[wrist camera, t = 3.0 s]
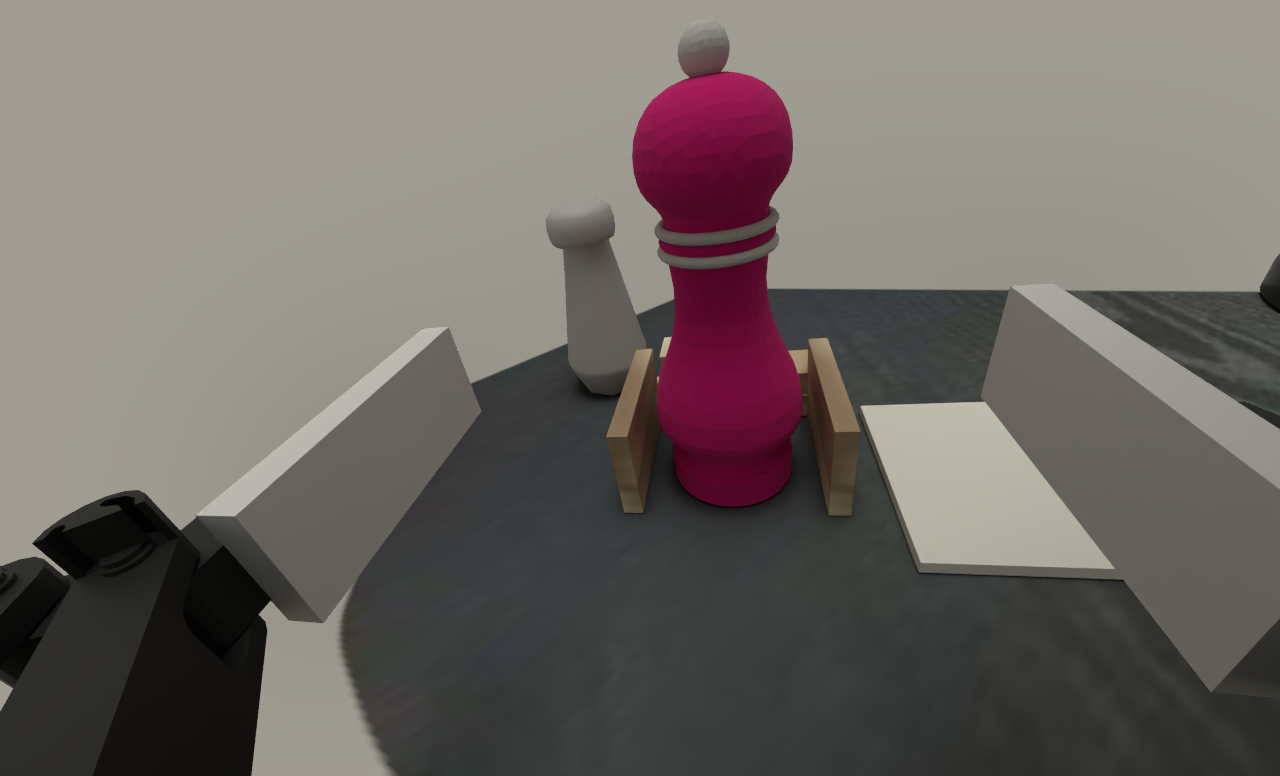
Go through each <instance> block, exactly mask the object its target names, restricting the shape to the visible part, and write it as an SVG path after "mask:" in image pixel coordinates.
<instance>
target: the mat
mask: <svg viewBox="0 0 1280 776" xmlns="http://www.w3.org/2000/svg"><path fill="white" fill-rule="evenodd" d="M860 417H861V419H862V422H863V425H864V427H865V430H866V433H867V435H868V438H869V441H870V443H871V446H872V449H873V451H874V454H875V457H876V459H877V462H878V465H879V468H880V470H881V473H882V476H883V478H884V481H885V484H886V486H887V489H888V492H889V494H890V497H891V500H892V502H893V505H894V508H895V510H896V513H897V516H898V518H899V521H900V524H901V526H902V529H903V532H904V535H905V537H906V540H907V543H908V545H909V548H910V551H911V553H912V556H913V559H914V561H915V564H916V567H917V569H918V572H923V573H951V574H979V575H1007V576H1035V577H1063V578H1091V579H1119V580H1123V579H1122V577H1121V576H1120V575H1119V573H1118V572H1117V571H1116V570H1115V568H1114V567H1113V566H1112V564H1111V563H1110V562H1109V561H1108V559H1107V558H1106V557H1105V555H1104V554H1103V553H1102V552H1101V550H1100V549H1099V548H1098V546H1097V545H1096V544H1095V543H1094V541H1093V540H1092V539H1091V537H1090V536H1089V535H1088V534H1087V532H1086V531H1085V530H1084V528H1083V527H1082V526H1081V525H1080V523H1079V522H1078V521H1077V519H1076V518H1075V517H1074V516H1073V514H1072V513H1071V512H1070V510H1069V509H1068V508H1067V507H1066V505H1065V504H1064V503H1063V501H1062V500H1061V499H1060V498H1059V496H1058V495H1057V494H1056V492H1055V491H1054V490H1053V489H1052V487H1051V486H1050V485H1049V483H1048V482H1047V481H1046V480H1045V478H1044V477H1043V476H1042V474H1041V473H1040V472H1039V471H1038V469H1037V468H1036V467H1035V465H1034V464H1033V463H1032V462H1031V460H1030V459H1029V458H1028V456H1027V455H1026V454H1025V453H1024V451H1023V450H1022V449H1021V447H1020V446H1019V445H1018V444H1017V442H1016V441H1015V440H1014V438H1013V437H1012V436H1011V435H1010V433H1009V432H1008V431H1007V429H1006V428H1005V427H1004V426H1003V424H1002V423H1001V422H1000V420H999V419H998V418H997V417H996V415H995V414H994V413H993V411H992V410H991V409H990V408H989V406H988V405H987V404H986V402H967V403H937V404H906V405H876V406H860Z"/></svg>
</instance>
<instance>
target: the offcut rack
mask: <svg viewBox="0 0 1280 776" xmlns="http://www.w3.org/2000/svg"><path fill="white" fill-rule="evenodd" d="M671 338H672V337H666V338H664V341H663V345H662V349H661V353H660V364H661V369H662V366H663V363H664V360H665V357H666V354H667V351H668V348H669V345H670V341H671ZM789 353H790V355H791V357H792V359H793V361H794V364H795V366H796V369H797V373H798V376H799V379H800V382H801V390H802V402H803V410H802V416H807V418H808V423H809V428H810V432H811V437H812V441H813V446H814V450H815V455H816V460H817V464H818V469H819V473H820V478H821V482H822V487H823V492H824V496H825V501H826V505H827V510H828V515H832V516H851V514H852V505H853V496H854V487H855V478H856V469H857V460H858V451H859V442H860V433H861V431H860V428H859V426H858V423H857V420H856V417H855V414H854V412H853V409H852V406H851V403H850V400H849V398H848V395H847V392H846V389H845V387H844V384H843V381H842V378H841V375H840V373H839V370H838V367H837V364H836V361H835V359H834V356H833V353H832V350H831V347H830V345H829V342H828V339H827V338H818V339H808V350H793V351H789ZM658 381H659V377H657V375H656V369H655V363H654V356H653V350H652V349H641V350H636V352H635V355H634V358H633V361H632V364H631V366H630V369H629V372H628V375H627V378H626V381H625V384H624V387H623V390H622V393H621V396H620V398H619V401H618V404H617V407H616V410H615V413H614V416H613V419H612V422H611V425H610V428H609V430H608V433H607V436H606V439H607V443H608V447H609V451H610V455H611V459H612V463H613V468H614V472H615V476H616V480H617V484H618V488H619V492H620V497H621V501H622V505H623V509H624V513H643V512H644V507H645V502H646V497H647V492H648V487H649V482H650V477H651V472H652V467H653V462H654V457H655V452H656V447H657V442H658V437H659V432H660V427H661V425H660V422H659V419H658V412H657V398H656V397H657V387H658Z"/></svg>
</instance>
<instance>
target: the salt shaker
mask: <svg viewBox="0 0 1280 776" xmlns="http://www.w3.org/2000/svg"><path fill="white" fill-rule="evenodd" d="M546 227H547V233H548V236H549V239H550V241H551V243H552V244H553V245H554V246H555V247H557V248H560V249H563V255H564V270H565V287H566V288H565V289H566V311H567V312H566V313H567V337H568V361H569V364H570V366H571V368H572V369H573V371H574V372H575V373H576V375H577V376H578V377H579V378H580V379H581V381H582V382H583V383H584V384H585V385H586V387H587V388H588V389H589V390H590V391H591V392H592V393H599V394H606V395H615V394H618V393H620V392H622V390H623V387H624V384H625V381H626V378H627V375H628V372H629V369H630V366H631V364H632V361H633V358H634V355H635V352H636V350H641V349H646V342H645V339H644V337H643V334H642V331H641V328H640V326H639V323H638V320H637V317H636V314H635V312H634V309H633V306H632V303H631V300H630V298H629V295H628V292H627V289H626V286H625V284H624V282H623V278H622V276H621V273H620V270H619V267H618V265H617V261H616V259H615V256H614V253H613V250H612V248H611V245H610V242H609V238H611V237H612V236H613V235H614V231H615V223H614V215H613V213H612V210H611V207H610V205H608V204H607V203H606V202H605V201H603V200H598V199H581V200H576V201H572V202H567V203H564V204H562V205H559V206H557V207H556V208H554V209H552V210H551V211H550V213H549V215H548V216H547V218H546Z"/></svg>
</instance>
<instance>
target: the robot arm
mask: <svg viewBox="0 0 1280 776" xmlns="http://www.w3.org/2000/svg"><path fill="white" fill-rule="evenodd" d="M1260 291H1261V294H1262V296H1263V297H1264V298H1265V299H1266V300H1267V301H1268V302H1269V303H1270V304H1272V305H1273V306H1275V307H1276V308H1278V309H1280V254H1279V255H1278V257H1277V258H1276V259H1275V261H1274V262H1273V264H1272V266H1271V268H1270V270H1269V271H1268V273H1267V275H1266V277H1265V279H1264V280H1263V282H1262V284H1261V287H1260ZM981 397H982V399H983V400H984V401H985V402H986V404H987V405H988V406H989V408H990V409H991V410H992V411H993V413H994V414H995V415H996V417H997V418H998V419H999V420H1000V422H1001V423H1002V424H1003V426H1004V427H1005V428H1006V429H1007V431H1008V432H1009V433H1010V435H1011V436H1012V437H1013V438H1014V440H1015V441H1016V442H1017V444H1018V445H1019V446H1020V447H1021V449H1022V450H1023V451H1024V453H1025V454H1026V455H1027V456H1028V458H1029V459H1030V460H1031V462H1032V463H1033V464H1034V465H1035V467H1036V468H1037V469H1038V471H1039V472H1040V473H1041V474H1042V476H1043V477H1044V478H1045V480H1046V481H1047V482H1048V483H1049V485H1050V486H1051V487H1052V489H1053V490H1054V491H1055V492H1056V494H1057V495H1058V496H1059V498H1060V499H1061V500H1062V501H1063V503H1064V504H1065V505H1066V507H1067V508H1068V509H1069V510H1070V512H1071V513H1072V514H1073V516H1074V517H1075V518H1076V519H1077V521H1078V522H1079V523H1080V525H1081V526H1082V527H1083V528H1084V530H1085V531H1086V532H1087V534H1088V535H1089V536H1090V537H1091V539H1092V540H1093V541H1094V543H1095V544H1096V545H1097V546H1098V548H1099V549H1100V550H1101V552H1102V553H1103V554H1104V555H1105V557H1106V558H1107V559H1108V561H1109V562H1110V563H1111V564H1112V566H1113V567H1114V568H1115V570H1116V571H1117V572H1118V573H1119V575H1120V576H1121V577H1122V579H1123V580H1124V581H1125V582H1126V584H1127V585H1128V586H1129V588H1130V589H1131V590H1132V591H1133V593H1134V594H1135V595H1136V597H1137V598H1138V599H1139V600H1140V602H1141V603H1142V604H1143V606H1144V607H1145V608H1146V609H1147V611H1148V612H1149V613H1150V615H1151V616H1152V617H1153V618H1154V620H1155V621H1156V622H1157V624H1158V625H1159V626H1160V627H1161V629H1162V630H1163V631H1164V633H1165V634H1166V635H1167V636H1168V638H1169V639H1170V640H1171V642H1172V643H1173V644H1174V645H1175V647H1176V648H1177V649H1178V651H1179V652H1180V653H1181V654H1182V656H1183V657H1184V658H1185V660H1186V661H1187V662H1188V663H1189V665H1190V666H1191V667H1192V669H1193V670H1194V671H1195V672H1196V674H1197V675H1198V676H1199V678H1200V679H1201V680H1202V681H1203V683H1204V684H1205V685H1206V687H1207V688H1208V689H1209V690H1210V692H1212V693H1225V694H1237V695H1250V696H1263V697H1276V698H1280V416H1279V415H1276V414H1274V413H1271V412H1269V411H1266V410H1264V409H1261V408H1259V407H1256V406H1254V405H1251V404H1249V403H1246V402H1237V401H1235V400H1234V399H1232V398H1230V397H1229V396H1227V395H1226V394H1224V393H1223V392H1221V391H1220V390H1218V389H1216V388H1215V387H1213V386H1212V385H1210V384H1209V383H1207V382H1206V381H1204V380H1203V379H1201V378H1199V377H1198V376H1196V375H1195V374H1193V373H1192V372H1190V371H1189V370H1187V369H1185V368H1184V367H1182V366H1181V365H1179V364H1178V363H1176V362H1175V361H1173V360H1172V359H1170V358H1168V357H1167V356H1165V355H1164V354H1162V353H1161V352H1159V351H1158V350H1156V349H1154V348H1153V347H1151V346H1150V345H1148V344H1147V343H1145V342H1144V341H1142V340H1141V339H1139V338H1137V337H1136V336H1134V335H1133V334H1131V333H1130V332H1128V331H1127V330H1125V329H1123V328H1122V327H1120V326H1119V325H1117V324H1116V323H1114V322H1113V321H1111V320H1110V319H1108V318H1106V317H1105V316H1103V315H1102V314H1100V313H1099V312H1097V311H1096V310H1094V309H1092V308H1091V307H1089V306H1088V305H1086V304H1085V303H1083V302H1082V301H1080V300H1078V299H1077V298H1075V297H1074V296H1072V295H1071V294H1069V293H1068V292H1066V291H1065V290H1063V289H1061V288H1060V287H1058V286H1057V285H1055V284H1054V283H1047V284H1033V285H1019V286H1010V290H1009V293H1008V297H1007V301H1006V304H1005V308H1004V312H1003V316H1002V319H1001V323H1000V327H999V330H998V334H997V338H996V342H995V345H994V349H993V353H992V356H991V360H990V364H989V368H988V371H987V375H986V379H985V382H984V386H983V390H982V394H981ZM480 412H481V410H480V407H479V404H478V402H477V399H476V397H475V394H474V392H473V389H472V386H471V384H470V381H469V379H468V376H467V374H466V371H465V368H464V366H463V363H462V361H461V358H460V355H459V353H458V351H457V348H456V345H455V343H454V340H453V338H452V335H451V332H450V330H449V327H441V328H427V329H422V330H421V331H420V332H418V333H417V334H416V335H415V336H414V337H412V338H411V339H410V340H409V341H408V342H406V343H405V344H404V345H403V346H401V347H400V348H399V349H398V350H397V351H395V352H394V353H393V354H392V355H391V356H389V357H388V358H387V359H386V360H384V361H383V362H382V363H381V364H379V365H378V366H377V367H376V368H375V369H373V370H372V371H371V372H370V373H369V374H367V375H366V376H365V377H364V378H362V379H361V380H360V381H359V382H357V383H356V384H355V385H354V386H353V387H352V388H350V389H349V390H348V391H347V392H345V393H344V394H343V395H342V396H340V397H339V398H338V399H337V400H336V401H334V402H333V403H332V404H331V405H329V406H328V407H327V408H326V409H325V410H323V411H322V412H321V413H320V414H319V415H317V416H316V417H315V418H314V419H312V420H311V421H310V422H309V423H307V424H306V425H305V426H304V427H303V428H301V429H300V430H299V431H298V432H296V433H295V434H294V435H293V436H292V437H290V438H289V439H288V440H287V441H286V442H284V443H283V444H282V445H281V446H279V448H277V449H276V450H275V451H273V452H272V453H271V454H270V455H269V456H267V457H266V458H265V459H264V460H262V461H261V462H260V463H259V464H258V465H256V466H255V467H254V468H253V469H251V470H250V471H249V472H248V473H246V474H245V475H244V476H243V477H242V478H240V479H239V480H238V481H237V482H236V483H234V484H233V485H232V486H231V487H230V488H228V489H227V490H226V491H225V492H223V493H222V494H221V495H220V496H218V497H217V498H216V499H215V500H214V501H212V502H211V503H210V504H209V505H208V506H206V507H205V508H204V509H203V510H201V511H200V512H199V513H198V514H196V515H195V516H196V517H197V518H195V519H194V520H193V521H192V522H191V523H189V524H188V525H187V526H186V527H184V528H183V529H182V530H181V531H180V530H179V529H178V528H177V527H176V526H175V525H174V524H173V523H172V522H171V521H170V519H169V518H167V517H166V515H165V514H164V513H163V512H162V511H161V510H160V509H159V508H158V507H157V506H156V505H155V503H153V501H152V500H151V499H150V498H149V497H148V496H147V495H146V494H145V493H143V492H141V491H139V490H134V491H124V492H120V493H117V494H113V495H110V496H106V497H104V498H101V499H99V500H97V501H94V502H92V503H90V504H88V505H85V506H83V507H81V508H80V509H78V510H76V511H74V512H72V513H71V514H69V515H67V516H65V517H63V518H62V519H60V520H59V521H58V522H56V523H55V524H53V525H52V526H51V527H49V528H48V529H46V530H45V531H44V532H43V533H42V534H41V535H40V536H39V537H38V538H37V539H36V540H35V541H34V542H33V545H35V546H36V547H37V548H38V549H39V550H41V551H42V552H43V553H44V554H45V555H46V556H48V557H49V558H50V559H51V560H52V561H54V562H55V563H56V564H57V565H58V566H60V567H61V568H62V569H63V570H64V571H66V572H67V573H68V574H69V575H66V576H63V575H62V574H61V573H60V572H59V571H57V570H56V569H55V568H54V567H53V566H51V565H50V564H49V563H48V562H46V561H45V560H44V559H41V558H37V557H31V558H26V559H20V560H17V561H15V562H12V563H9V564H6V565H4V566H0V680H1V681H2V682H4V683H5V684H7V685H9V686H10V687H12V688H13V690H12V692H11V694H10V695H9V697H8V699H7V701H6V703H5V704H4V706H3V708H2V710H1V711H0V776H251V773H252V764H253V755H254V746H255V737H256V728H257V719H258V709H259V700H260V691H261V682H262V673H263V664H264V655H265V645H266V636H267V627H266V622H265V621H264V620H263V619H262V618H261V617H260V616H259V615H258V614H259V613H260V612H261V611H262V610H263V609H264V607H265V606H266V605H267V604H268V603H269V602H270V601H272V602H273V603H274V604H275V605H276V607H277V608H278V609H279V610H280V611H281V612H282V613H283V614H284V616H285V617H286V618H287V619H288V620H290V621H303V622H316V623H324V622H325V620H326V619H327V618H328V616H329V615H330V614H331V612H332V611H333V610H334V608H335V607H336V605H337V604H338V603H339V602H340V600H341V599H342V597H343V596H344V595H345V594H346V592H347V591H348V589H349V588H350V587H351V585H352V584H353V583H354V581H355V580H356V579H357V577H358V576H359V575H360V573H361V572H362V571H363V569H364V568H365V567H366V565H367V564H368V563H369V561H370V560H371V559H372V557H373V556H374V555H375V553H376V552H377V551H378V549H379V548H380V547H381V545H382V544H383V543H384V541H385V540H386V539H387V537H388V536H389V535H390V533H391V532H392V530H393V529H394V528H395V526H396V525H397V524H398V522H399V521H400V520H401V518H402V517H403V516H404V514H405V513H406V512H407V510H408V509H409V508H410V506H411V505H412V504H413V502H414V501H415V500H416V498H417V497H418V496H419V494H420V493H421V492H422V490H423V489H424V488H425V486H426V485H427V484H428V482H429V481H430V480H431V478H432V477H433V476H434V474H435V473H436V471H437V470H438V469H439V467H440V466H441V465H442V463H443V462H444V461H445V459H446V458H447V457H448V455H449V454H450V453H451V451H452V450H453V449H454V447H455V446H456V445H457V443H458V442H459V441H460V439H461V438H462V437H463V435H464V434H465V433H466V431H467V430H468V429H469V427H470V426H471V425H472V423H473V422H474V421H475V419H476V418H477V416H478V415H479V414H480Z"/></svg>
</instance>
